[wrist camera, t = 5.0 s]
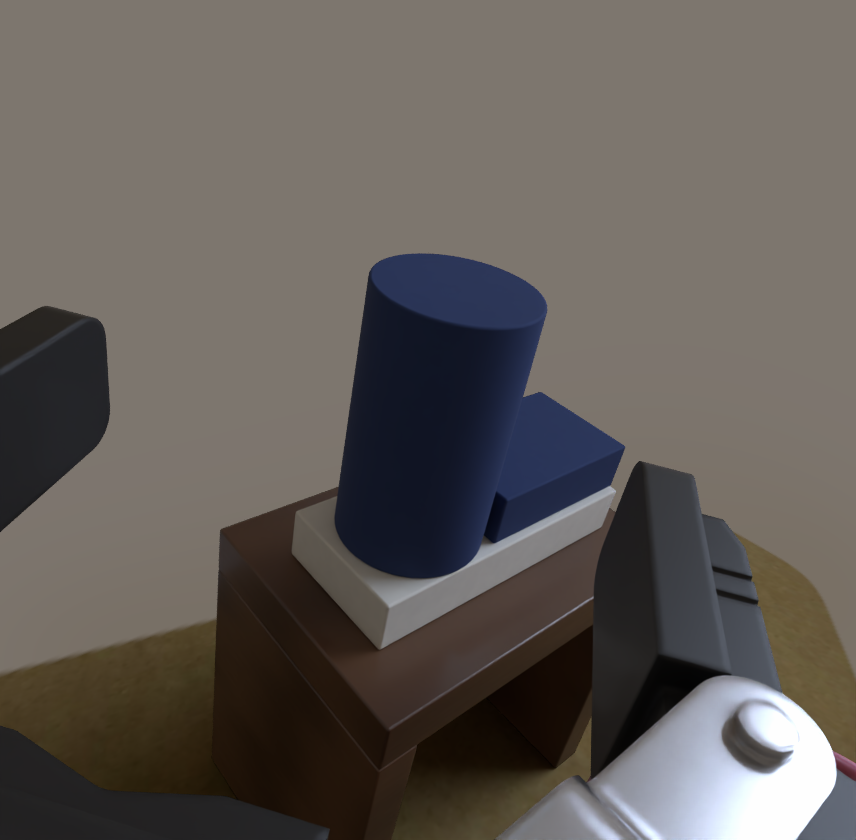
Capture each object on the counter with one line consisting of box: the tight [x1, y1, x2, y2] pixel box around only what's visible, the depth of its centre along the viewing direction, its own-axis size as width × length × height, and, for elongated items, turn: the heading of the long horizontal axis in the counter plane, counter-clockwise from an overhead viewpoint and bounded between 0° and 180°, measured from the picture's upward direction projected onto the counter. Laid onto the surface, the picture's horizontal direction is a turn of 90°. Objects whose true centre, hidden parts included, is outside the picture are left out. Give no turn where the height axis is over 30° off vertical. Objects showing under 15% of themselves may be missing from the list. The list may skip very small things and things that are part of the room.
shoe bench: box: [212, 487, 616, 840], centre depth 32 cm, size 10×15×14 cm, turn 131°
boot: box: [292, 254, 625, 650], centre depth 26 cm, size 12×5×11 cm, turn 131°
